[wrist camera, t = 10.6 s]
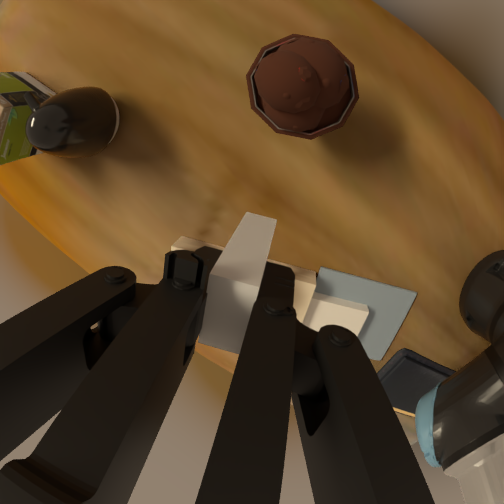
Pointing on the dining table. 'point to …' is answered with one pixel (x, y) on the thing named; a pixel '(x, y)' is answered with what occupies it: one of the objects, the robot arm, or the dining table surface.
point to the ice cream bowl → (302, 86)
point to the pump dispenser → (72, 122)
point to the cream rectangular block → (335, 313)
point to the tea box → (17, 114)
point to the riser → (303, 277)
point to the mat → (370, 306)
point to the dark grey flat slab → (410, 379)
